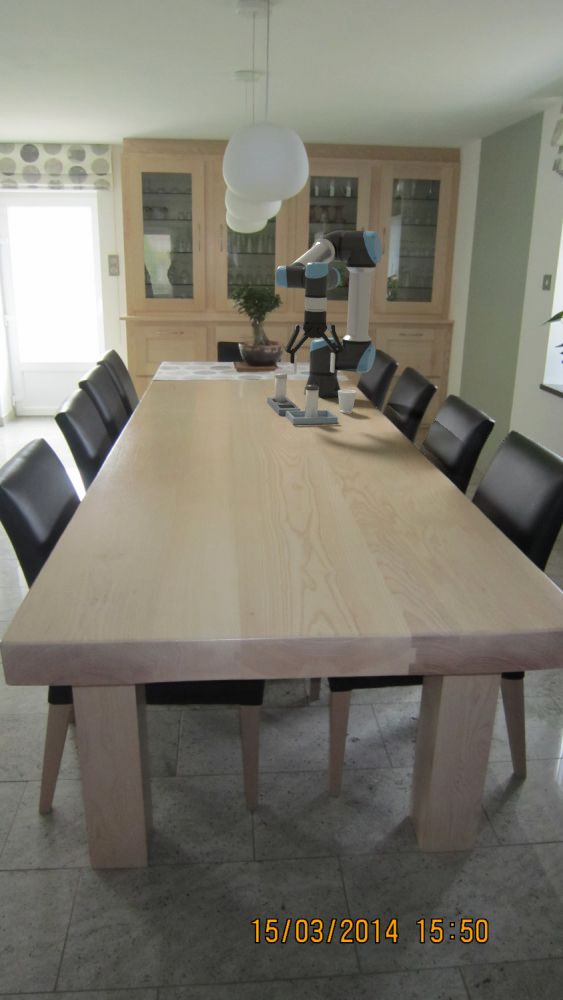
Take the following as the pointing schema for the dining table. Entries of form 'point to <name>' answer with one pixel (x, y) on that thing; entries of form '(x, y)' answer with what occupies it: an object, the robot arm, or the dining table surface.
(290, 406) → the fuse strip
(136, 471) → the dining table surface
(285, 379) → the cylinder
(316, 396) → the cylinder
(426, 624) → the dining table surface
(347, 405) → the cup
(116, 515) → the dining table surface
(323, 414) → the parts tray
